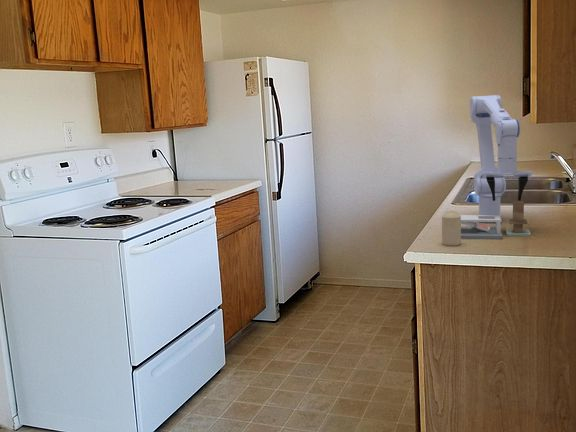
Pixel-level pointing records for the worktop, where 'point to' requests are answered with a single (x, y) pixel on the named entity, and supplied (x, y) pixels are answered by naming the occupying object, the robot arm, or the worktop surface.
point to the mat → (511, 233)
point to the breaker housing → (475, 233)
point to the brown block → (518, 217)
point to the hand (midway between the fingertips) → (506, 200)
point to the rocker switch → (477, 225)
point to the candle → (451, 228)
